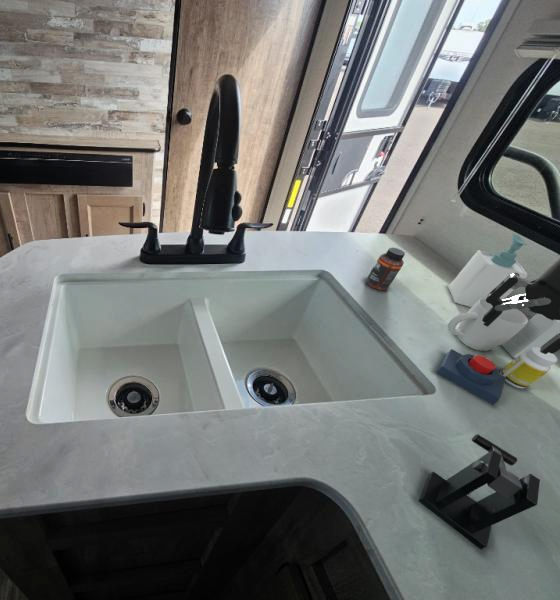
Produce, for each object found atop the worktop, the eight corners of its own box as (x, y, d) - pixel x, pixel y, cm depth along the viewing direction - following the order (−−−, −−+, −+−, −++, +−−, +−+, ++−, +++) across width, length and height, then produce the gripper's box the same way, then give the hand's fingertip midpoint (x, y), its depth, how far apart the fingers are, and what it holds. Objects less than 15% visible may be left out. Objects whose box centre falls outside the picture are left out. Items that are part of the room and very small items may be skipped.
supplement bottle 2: (531, 391, 69) (567, 365, 63) (508, 387, 69) (541, 361, 64) (516, 373, 72) (548, 347, 67) (493, 369, 73) (524, 343, 67)
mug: (477, 330, 83) (508, 300, 76) (503, 357, 76) (539, 326, 69) (427, 324, 83) (453, 293, 76) (449, 351, 76) (479, 319, 70)
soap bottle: (481, 295, 95) (535, 237, 83) (490, 313, 89) (550, 253, 77) (447, 286, 98) (494, 228, 85) (454, 302, 91) (506, 242, 79)
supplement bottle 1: (391, 287, 94) (414, 253, 87) (381, 293, 92) (403, 259, 84) (371, 276, 98) (391, 243, 91) (361, 282, 95) (381, 248, 88)
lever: (468, 440, 53) (479, 430, 52) (507, 465, 50) (519, 454, 49) (474, 477, 44) (487, 465, 43) (521, 509, 41) (537, 497, 40)
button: (470, 357, 70) (476, 352, 68) (490, 368, 68) (497, 363, 67) (466, 366, 68) (472, 360, 66) (487, 377, 66) (494, 372, 64)
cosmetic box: (524, 347, 79) (569, 310, 71) (539, 362, 76) (587, 324, 68) (499, 344, 79) (540, 307, 71) (512, 359, 76) (558, 321, 68)
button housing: (444, 355, 75) (456, 343, 72) (498, 383, 69) (512, 371, 67) (435, 372, 70) (447, 360, 68) (492, 404, 65) (507, 393, 62)
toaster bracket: (428, 474, 53) (480, 437, 45) (488, 517, 49) (556, 484, 41) (417, 501, 50) (472, 466, 42) (480, 549, 45) (553, 521, 38)
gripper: (535, 251, 51) (464, 324, 62) (670, 298, 44) (563, 372, 55) (539, 237, 55) (471, 308, 66) (663, 278, 48) (564, 350, 59)
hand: (513, 337), depth 60 cm, fingers open, 8 cm apart
